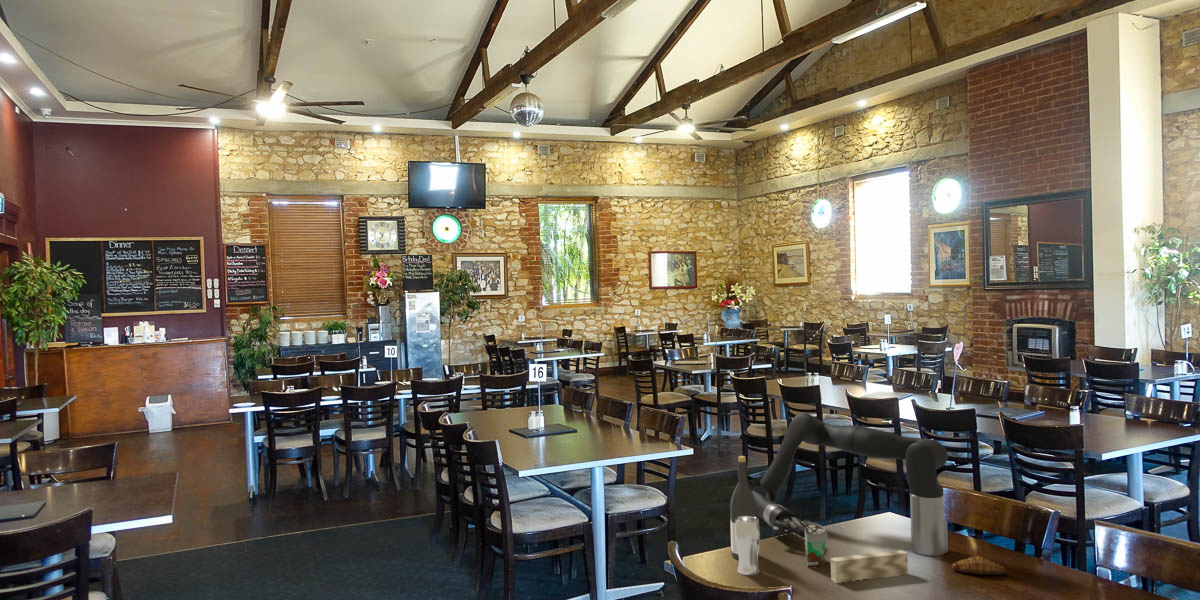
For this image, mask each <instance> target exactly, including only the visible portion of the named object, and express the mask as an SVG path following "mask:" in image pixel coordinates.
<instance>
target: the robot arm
mask: <svg viewBox="0 0 1200 600" xmlns="http://www.w3.org/2000/svg"><path fill="white" fill-rule="evenodd" d="M802 442H804V443H805V444H807V445H814V446H823V447H831V448H834V449H835V448H836V449H838V450H841V451H843V452H847V453H850V454H853V455H854V454H855V455H857V456H862V457H865V458H870V459H873V458H874V459H891V460H892V459H894V460H896V459H897V460H902V461H903V460H904V461H905V471H906V472H905V475H906V481H907V485H908V487H909V498H910V501H909V502H910V503H909V505H910V506H909V507H910V508H909V509H910V543H911V547H910V548H911V550H912V552H914V553H916V554H918V555H923V556H932V557H935V556H937V557H939V556H942V555H944V554H946V553H948V552H949V548H948V545H949V542H948V541H949V540H948V521H947V520H946V519H945V510H944V507H945V506H944V487H943V485H942V484H941V483H939V482H938V478H937V477H938V476H937V470H938V469H940V468H942V467H944V466H945V465H946V463H947V462H948V459H949V454H948V450H947V449H946V447H945V446H944V445H943V444H942V443H940V441H938V440H935V439H932V438H931V439H930V438H921V437H910V436H902V435H899V434H895V433H892V432H887V431H884V430H878V429H875V428H871V427H867V426H866V427H865V426H861V425H847V426H838V425H834V424H830V423H827V422H824V421H822V420H820V419H818V418H816V417H815V416H813V415H811V414H810V413H807V412H800V413H798V414H796V415H795V416H793V418H792V420H791V421H790V423H789V426H788V427H787V431H786V433H785V434H784V437H783V439H782V442H781V444H780V446H779V449H778V451H777V453H776V455H775V457H774V459H773V460H772V462H771V464H770V466H769V467H768V468H767V470H766V472H764V474H763V476H762V478H761V479H760V481H759V482H760V486H761V487H762V488H763V489H764V490H765V491H766V492H765V496H764V495H763V494H762V493H760V492H758V491H756V490H751V491H752V493H753V496H754V498H755V502H756V506H757V517H759V518H760V519H761V520H763V521H764V522H765V523H767V525H769V526H770V527H771V528H772V532H774V533H779V534H785V535H790V536H791V535H792V534H793V535H797V536H798V537H800V538H803V539H805V532H804V522H810V519H805V520H803V521H802V520H801V519H799V518H797V517H796V515H795V514H794V513H793V511H792V510H790V509H788V508H786V507H785V506H783V505H781V504H778V503H776V501H777V498H778V495H779V493H780V490H781V489H782V488H783V486H784V484H785V482H786V481H787V479H788V478H789V475H790V473H791V471H792V466H793V461H794V458H795V457H794V456H795V454H796V452H797V450H798V448H799V447H800V445H801V444H802ZM810 523H811V522H810Z"/></svg>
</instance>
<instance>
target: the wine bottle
mask: <svg viewBox="0 0 1200 600" xmlns="http://www.w3.org/2000/svg"><path fill="white" fill-rule="evenodd" d="M737 469H738V471H737V475H738V482H737V483H736V486H735V488H734V490H733V492H732V494H731V495H732V496H731V498H730V503H729V512H730V513H729V514H730V515H729V519H730V552H731V556H732V557H733V559H736V560H739V555H738V550H737V545H736V539H735V522H736V518H737V517H739V516H753V517H756V518H758V516H757V506H756V502H755V498H754V496H753V493H752V491H753V490H751V487H750V486H749V483H748V480H747V461H746V456H745V455H739V456H738V461H737Z"/></svg>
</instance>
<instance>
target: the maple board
mask: <svg viewBox="0 0 1200 600" xmlns="http://www.w3.org/2000/svg"><path fill="white" fill-rule="evenodd" d="M908 558H909V557H908V552H907V551H904V550H891V551H883V552H882V551H881V552H874V553H864V554H857V555H848V556H847V555H845V556H839V557H838V556H836V557H831V558H830V579H831V581H832V582H833V581H834V583H835V584H843V583H842V582H844V583H849V582H848V581H852V582H856V581H855V580H860V581H863V580H862V579H868V580H876V579H883V578H891V577H892V578H893V577H900V576H908V575H909V562H908Z"/></svg>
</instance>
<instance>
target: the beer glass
mask: <svg viewBox="0 0 1200 600" xmlns="http://www.w3.org/2000/svg"><path fill="white" fill-rule="evenodd" d="M760 528H761V527H760V519H759V518H758V517H757V518H756V517H753V516H739V517H737V518H736V522H735V539H736V545H737V550H738V555H739V559H738V566H737V572H738V574H740V575H743V576H748V575H749V576H750V575H751V576H757V575H758V574H760V567H759V560H758V559H759V549H760V541H761V530H760Z"/></svg>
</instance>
